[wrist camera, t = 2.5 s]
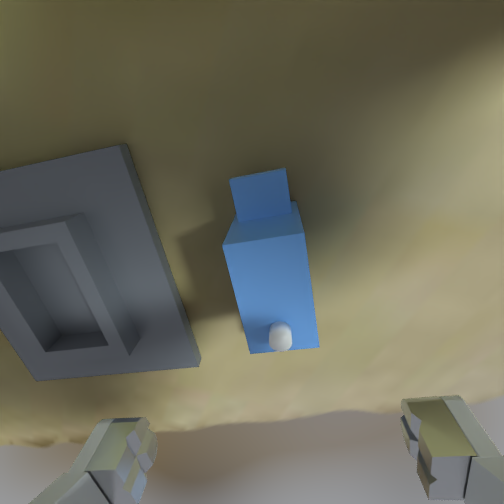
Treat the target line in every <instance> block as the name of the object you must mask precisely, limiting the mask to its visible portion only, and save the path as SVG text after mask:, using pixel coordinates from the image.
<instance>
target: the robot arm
mask: <svg viewBox="0 0 504 504" xmlns="http://www.w3.org/2000/svg"><path fill="white" fill-rule="evenodd" d="M401 409H402V411H403V413H404V415H403V416H402V417H401V428H402V433H403V437H404V440H405V444H406V446H407V448H408V451H409V454H410V455H411V456H412V457H413V458H415V459H416V460H417V473H418V476H419V478H420V481H421V483H422V485H423V488H424V490H425V492H426V495H427V497H428V500H464V503H465V504H504V456H502V454H501V453H500V452H499V450H498V449H497V447H496V446H495V444H494V443H493V441H492V440H491V438H490V437H489V436H488V434H487V433H486V431H485V430H484V428H483V427H482V426H481V424H480V423H479V421H478V420H477V418H476V417H475V416H474V414H473V413H472V411H471V410H470V408H469V407H468V405H467V404H466V403H465V401H464V400H463V398H461V397H460V396H459V395H452V396H440V397H438V396H433V397H421V398H409V399H402V401H401ZM149 424H150V423H149V422H148V420H147V418H146V417H138V418H114V419H102V420H101V421H100V422H99V423H97V425H96V426H95V428H94V430H93V431H92V433H91V435H90V436H89V438H88V440H87V441H86V443H85V445H84V446H83V448H82V450H81V451H80V453H79V455H78V456H77V458H76V460H75V461H74V463H73V465H72V467H71V468H70V470H69V472H68V473H63V474H62V475H61V476H60V477H58V478H57V479H56V480H55V481H54V482H53V483H52V484H51V485H49V487H47V488H46V489H45V490H44V491H43V492H41V493H40V494H39V495H38V496H37V497H36V498H35V499H34V500H32V501H31V502H30V503H29V504H139V502H140V499H141V496H142V493H143V491H144V488H145V485H146V483H147V477H146V472H147V470H148V469H149V468H150V467H151V466H152V465H153V463H154V460H155V457H156V453H157V438H156V436H155V433H154V432H153V431H151V430H150V429H148V426H149Z"/></svg>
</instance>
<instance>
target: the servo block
mask: <svg viewBox="0 0 504 504" xmlns="http://www.w3.org/2000/svg"><path fill="white" fill-rule="evenodd" d="M229 183H230V187H231V191H232V196H233V200H234V205H235V209H236V215H235V217H234V219H233V222H232V224H231V226H230V229H229V231H228V233H227V236H226V238H225V240H224V242H223V245H222V247H223V251H224V255H225V258H226V262H227V266H228V270H229V274H230V278H231V281H232V285H233V289H234V293H235V297H236V301H237V305H238V308H239V312H240V316H241V320H242V324H243V328H244V331H245V335H246V339H247V343H248V347H249V351H250V354H254V353H265V352H275V351H280V352H282V351H286V350H297V349H307V348H318V347H319V339H318V332H317V324H316V317H315V309H314V302H313V294H312V286H311V279H310V271H309V264H308V256H307V248H306V241H305V233H304V229H303V225H302V221H301V217H300V214H299V210H298V206H297V202H296V201H292V202H290V195H289V188H288V181H287V174H286V168H281V169H276V170H270V171H265V172H260V173H255V174H250V175H244V176H239V177H234V178H230V179H229Z"/></svg>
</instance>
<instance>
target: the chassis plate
mask: <svg viewBox="0 0 504 504" xmlns="http://www.w3.org/2000/svg"><path fill="white" fill-rule="evenodd" d="M0 329H1V331H2V332H3V334H4V335H5V337H6V338H7V339H8V341H9V342H10V344H11V345H12V347H13V348H14V350H15V351H16V353H17V354H18V356H19V357H20V358H21V360H22V361H23V363H24V364H25V366H26V367H27V369H28V370H29V372H30V373H31V375H32V376H33V377H34V379H35V380H36V381H43V380H55V379H66V378H77V377H89V376H100V375H111V374H123V373H134V372H145V371H157V370H168V369H179V368H191V367H199V364H200V361H201V355H200V352H199V349H198V347H197V344H196V341H195V338H194V335H193V332H192V329H191V327H190V324H189V321H188V318H187V315H186V312H185V309H184V307H183V304H182V301H181V298H180V295H179V292H178V289H177V287H176V284H175V281H174V278H173V275H172V272H171V269H170V267H169V264H168V261H167V258H166V255H165V252H164V249H163V247H162V244H161V241H160V238H159V235H158V232H157V229H156V227H155V224H154V221H153V218H152V215H151V212H150V209H149V207H148V204H147V201H146V198H145V195H144V192H143V190H142V187H141V184H140V181H139V178H138V175H137V172H136V170H135V167H134V164H133V161H132V158H131V155H130V152H129V150H128V147H127V144H122V145H116V146H112V147H107V148H103V149H98V150H94V151H89V152H85V153H80V154H76V155H71V156H67V157H62V158H58V159H53V160H49V161H44V162H40V163H35V164H31V165H26V166H22V167H17V168H13V169H8V170H4V171H0Z"/></svg>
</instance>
